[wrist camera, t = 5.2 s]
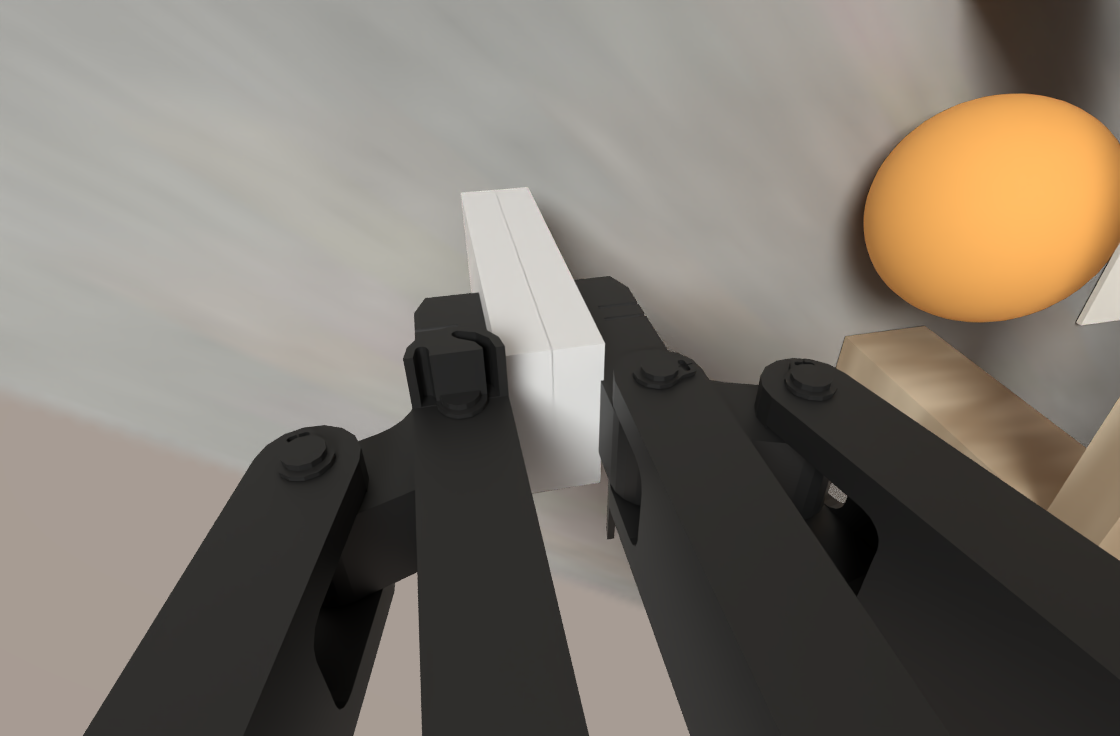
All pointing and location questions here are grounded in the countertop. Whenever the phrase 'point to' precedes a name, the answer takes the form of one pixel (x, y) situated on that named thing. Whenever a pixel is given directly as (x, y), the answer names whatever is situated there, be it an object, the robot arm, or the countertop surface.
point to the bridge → (995, 427)
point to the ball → (996, 208)
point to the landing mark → (1104, 295)
